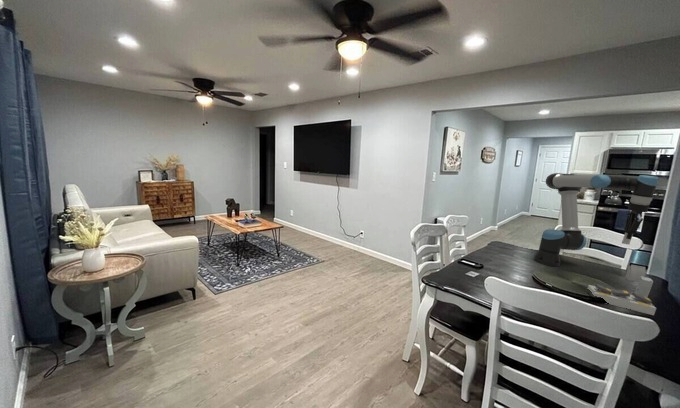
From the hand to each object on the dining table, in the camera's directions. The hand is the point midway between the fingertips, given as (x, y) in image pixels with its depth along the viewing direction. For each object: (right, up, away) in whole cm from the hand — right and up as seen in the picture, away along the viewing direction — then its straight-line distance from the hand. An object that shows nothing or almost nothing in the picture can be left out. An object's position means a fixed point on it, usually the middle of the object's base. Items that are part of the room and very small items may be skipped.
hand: (625, 243), depth 155 cm
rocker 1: (-22, -24, -9) cm, 34 cm away
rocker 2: (-15, -26, -12) cm, 32 cm away
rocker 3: (-9, -27, -15) cm, 32 cm away
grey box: (+25, -26, +19) cm, 41 cm away
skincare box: (+2, -30, -5) cm, 30 cm away
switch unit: (-16, -29, -11) cm, 35 cm away
